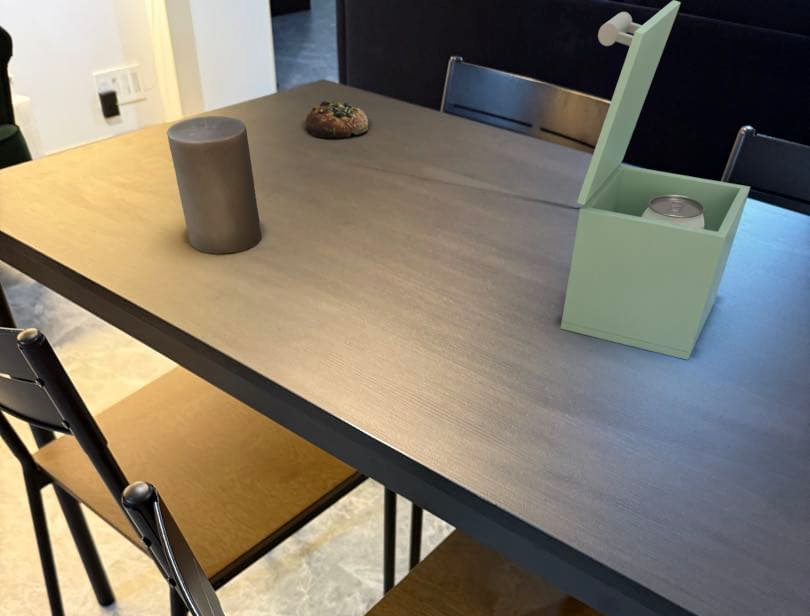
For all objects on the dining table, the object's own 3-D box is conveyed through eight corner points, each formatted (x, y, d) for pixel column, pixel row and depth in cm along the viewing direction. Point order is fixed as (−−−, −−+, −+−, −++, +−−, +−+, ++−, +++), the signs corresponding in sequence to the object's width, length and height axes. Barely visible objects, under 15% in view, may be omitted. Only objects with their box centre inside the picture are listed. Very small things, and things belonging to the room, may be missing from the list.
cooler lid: (680, 2, 73) (634, -13, 74) (643, 33, 64) (591, 16, 65) (622, 161, 84) (582, 146, 85) (584, 205, 76) (540, 188, 77)
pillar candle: (276, 237, 102) (261, 115, 92) (218, 262, 97) (195, 135, 87) (231, 217, 107) (212, 98, 96) (173, 239, 102) (146, 117, 91)
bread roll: (298, 136, 130) (297, 103, 127) (315, 125, 138) (314, 93, 135) (362, 143, 129) (362, 109, 126) (374, 131, 137) (375, 99, 134)
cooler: (713, 303, 90) (750, 186, 80) (687, 360, 81) (725, 236, 72) (596, 277, 94) (618, 164, 85) (560, 328, 86) (579, 208, 76)
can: (615, 319, 85) (638, 212, 77) (627, 293, 90) (650, 189, 81) (673, 331, 84) (704, 222, 75) (683, 304, 88) (713, 198, 79)
